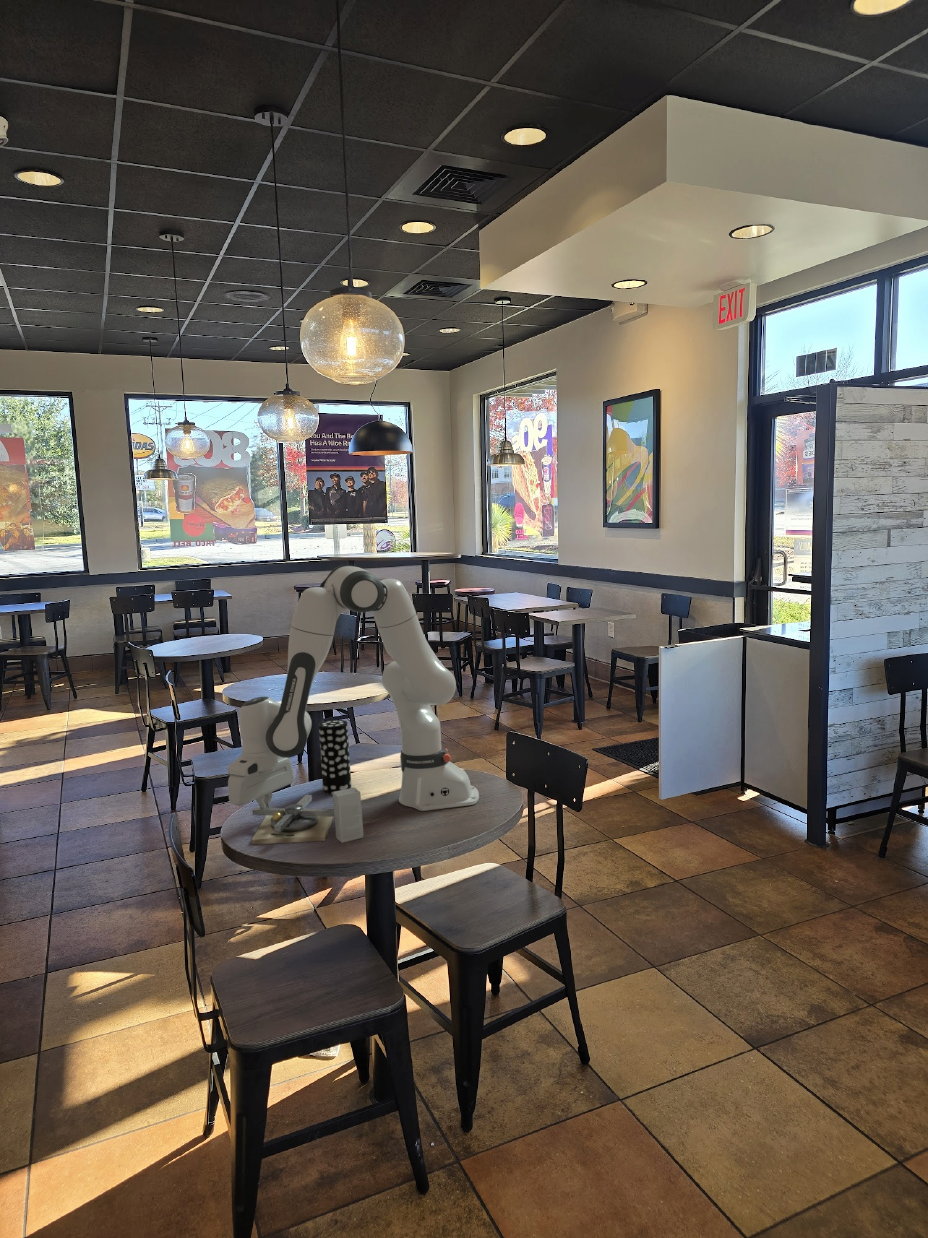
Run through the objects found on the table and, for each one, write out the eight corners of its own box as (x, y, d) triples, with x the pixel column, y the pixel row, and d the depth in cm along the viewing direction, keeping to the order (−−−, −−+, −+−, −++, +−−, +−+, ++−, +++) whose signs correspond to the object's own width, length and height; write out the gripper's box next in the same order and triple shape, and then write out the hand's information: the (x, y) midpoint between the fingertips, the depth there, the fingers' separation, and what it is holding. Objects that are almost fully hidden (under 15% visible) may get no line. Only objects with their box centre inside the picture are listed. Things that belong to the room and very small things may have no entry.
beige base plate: (334, 814, 216) (334, 809, 215) (324, 840, 198) (324, 835, 198) (268, 817, 215) (267, 812, 215) (251, 844, 197) (251, 838, 197)
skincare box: (358, 832, 202) (355, 786, 201) (363, 838, 198) (361, 791, 197) (335, 837, 199) (332, 791, 198) (340, 843, 196) (337, 796, 194)
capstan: (310, 806, 218) (309, 791, 217) (338, 824, 204) (337, 808, 204) (251, 822, 208) (250, 806, 208) (276, 841, 195) (275, 825, 194)
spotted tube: (354, 784, 239) (350, 719, 237) (347, 794, 231) (343, 727, 228) (327, 785, 240) (322, 720, 237) (319, 794, 232) (315, 727, 229)
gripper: (280, 747, 218) (284, 795, 220) (222, 769, 201) (227, 822, 203) (297, 749, 215) (301, 799, 217) (239, 772, 197) (244, 825, 199)
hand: (265, 810), depth 209 cm, fingers closed
